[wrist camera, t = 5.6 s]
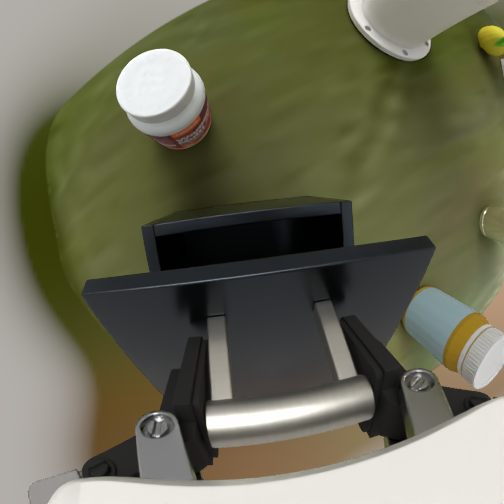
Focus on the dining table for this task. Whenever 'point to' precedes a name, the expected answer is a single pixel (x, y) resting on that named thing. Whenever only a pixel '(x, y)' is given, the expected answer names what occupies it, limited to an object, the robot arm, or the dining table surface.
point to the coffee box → (503, 62)
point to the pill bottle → (165, 98)
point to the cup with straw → (492, 223)
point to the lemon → (492, 40)
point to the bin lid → (267, 332)
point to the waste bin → (247, 232)
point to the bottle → (455, 335)
